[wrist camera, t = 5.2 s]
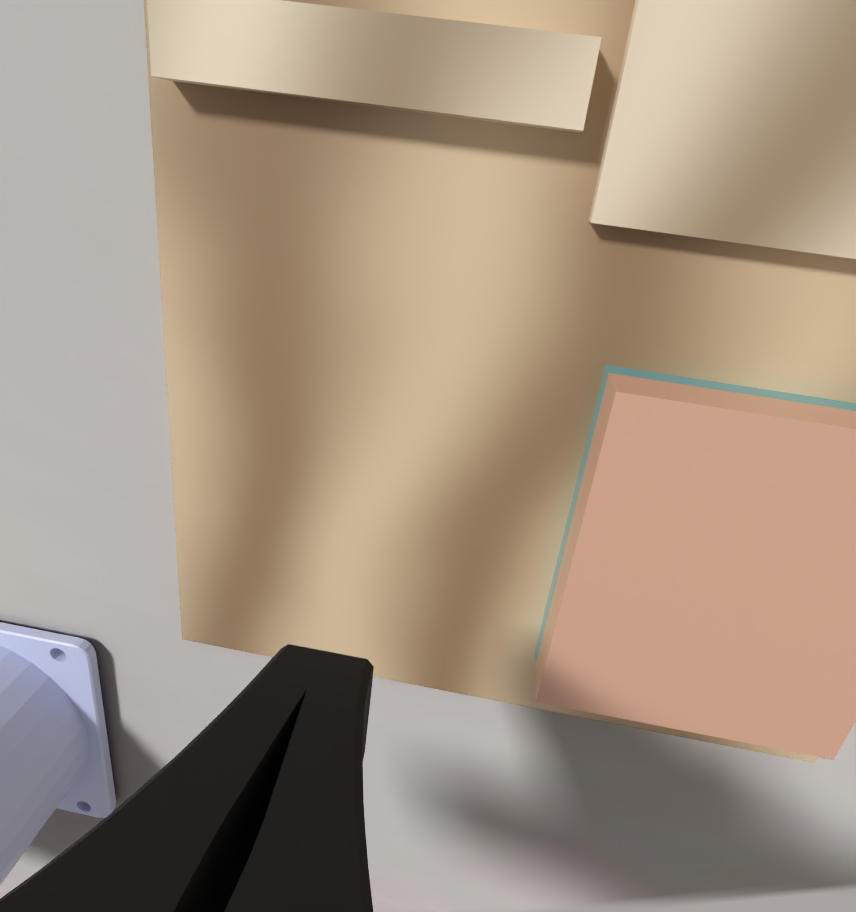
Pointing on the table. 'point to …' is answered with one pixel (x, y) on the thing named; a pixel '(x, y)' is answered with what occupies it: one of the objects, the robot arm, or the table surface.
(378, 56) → the wooden turner
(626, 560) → the tile
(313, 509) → the cork mat
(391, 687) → the table surface
